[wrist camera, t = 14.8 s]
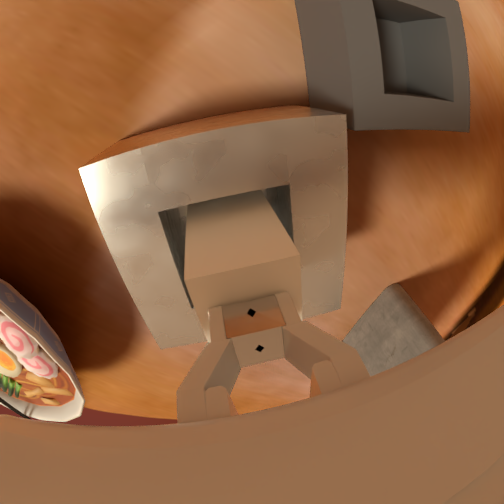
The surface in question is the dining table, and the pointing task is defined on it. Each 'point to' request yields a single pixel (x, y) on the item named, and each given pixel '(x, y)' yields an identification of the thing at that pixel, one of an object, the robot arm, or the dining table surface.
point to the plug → (238, 254)
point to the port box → (215, 186)
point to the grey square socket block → (387, 62)
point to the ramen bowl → (34, 363)
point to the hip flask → (392, 331)
